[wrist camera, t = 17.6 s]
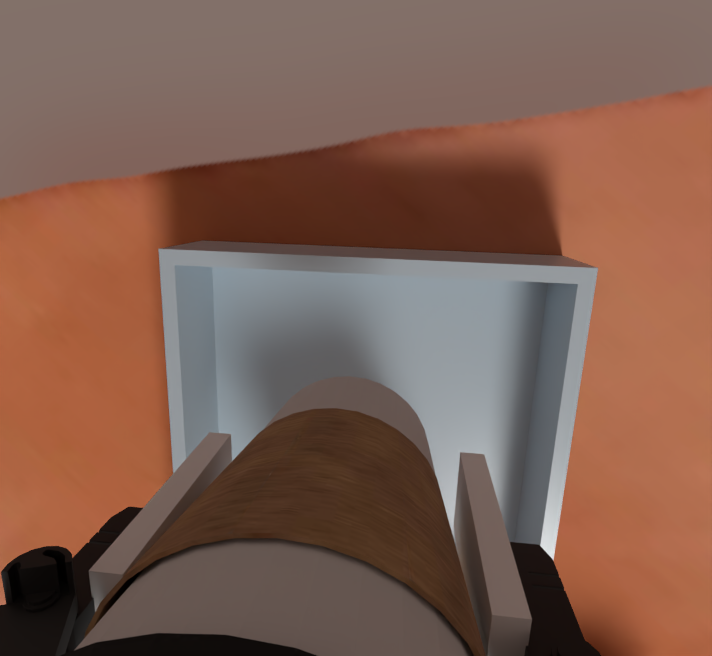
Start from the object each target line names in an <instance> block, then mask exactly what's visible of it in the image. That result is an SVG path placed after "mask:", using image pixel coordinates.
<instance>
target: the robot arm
mask: <svg viewBox="0 0 712 656" xmlns="http://www.w3.org/2000/svg"><path fill="white" fill-rule="evenodd" d="M231 462H232V446H231V434H225V433H212V432H209V433H208V434H207V436H206V437H205V438H204V439H203V440H202V441H201V442H200V444H199V445H198V446H197V447H196V448H195V449H194V450H193V452H192V453H191V454H190V455H189V456H188V457H187V458H186V460H185V461H184V462H183V463H182V464H181V465H180V467H179V468H178V469H177V470H176V471H175V472H174V473H173V475H172V476H171V477H170V478H169V479H168V480H167V481H166V483H165V484H164V485H163V486H162V487H161V488H160V489H159V491H158V492H157V493H156V494H155V495H154V496H153V497H152V499H151V500H150V501H149V502H148V503H147V504H146V506H145V507H144V508H137V507H128V508H126V509H124V510H123V511H121V512H119V513H118V514H116V515H114V516H113V517H111V518H110V519H109V520H108V521H107V522H106V523H105V525H104V526H103V527H102V528H101V529H100V530H99V533H98V532H97V533H96V534H95V535H94V536H93V537H92V538H91V539H90V541H89V543H87V544H86V545H85V546H84V547H83V548H82V549H81V550H80V551H79V552H78V553H77V554H76V555H75V556H74V557H73V558H72V554H71V553H70V552H69V551H68V549H66V548H63V547H59V546H46V547H42V548H38V549H34V550H31V551H29V552H26V553H24V554H22V555H20V556H18V557H17V558H15V559H14V560H12V561H11V562H10V563H8V564H7V566H6V567H5V568H4V569H3V570H2V572H1V575H2V581H3V587H4V592H5V598H6V604H5V605H0V656H60V655H63V654H66V653H68V652H71V651H74V650H75V649H76V648H77V646H78V645H79V644H80V643H81V642H82V641H83V639H84V636H85V632H86V630H87V628H88V626H89V624H90V622H91V620H92V618H93V616H94V614H95V612H96V610H97V608H98V606H99V604H100V602H101V601H102V600H103V599H104V598H105V597H106V595H107V594H108V593H109V592H110V591H111V590H112V589H113V588H114V586H115V585H116V584H117V583H118V582H119V581H120V580H121V578H122V577H123V576H124V575H125V574H126V573H127V572H128V571H129V570H130V569H131V568H132V567H133V566H134V565H135V564H136V562H137V561H138V560H139V559H140V558H141V557H142V556H143V555H144V554H145V553H146V552H147V551H148V550H149V549H150V548H151V547H152V546H153V544H154V543H155V542H156V541H157V540H158V539H159V538H160V537H161V536H162V535H163V534H164V533H165V532H166V531H167V530H168V529H169V527H170V526H171V525H172V524H173V523H174V522H175V521H176V520H177V519H178V518H179V517H180V516H181V515H182V514H183V513H184V512H185V511H186V509H187V508H188V507H189V506H190V505H191V504H192V503H193V502H194V501H195V500H196V499H197V498H198V497H199V496H200V495H201V494H202V493H203V491H204V490H205V489H206V488H207V487H208V486H209V485H210V484H211V483H212V482H213V481H214V480H215V479H216V478H217V477H218V476H219V475H220V473H221V472H222V471H223V470H224V469H225V468H226V467H227V466H228V465H229V464H230V463H231ZM453 526H454V534H455V542H456V549H457V553H458V557H459V560H460V564H461V568H462V571H463V575H464V579H465V582H466V586H467V589H468V593H469V597H470V600H471V604H472V608H473V611H474V615H475V619H476V622H477V626H478V630H479V633H480V637H481V641H482V644H483V648H484V651H485V655H486V656H601V655H600V653H599V652H598V651H597V650H596V649H595V648H594V647H593V646H591V645H590V644H589V643H588V642H586V641H585V640H584V637H583V635H582V632H581V630H580V627H579V625H578V622H577V620H576V617H575V615H574V612H573V609H572V607H571V604H570V602H569V599H568V597H567V594H566V592H565V591H564V587H563V584H562V582H561V579H560V578H559V574H558V572H557V569H556V566H555V564H554V561H553V559H552V558H551V557H550V556H549V555H548V554H547V553H546V551H545V550H544V549H543V548H542V547H541V546H540V545H538V544H528V543H517V542H509V538H508V535H507V531H506V528H505V524H504V521H503V517H502V514H501V510H500V507H499V504H498V500H497V497H496V493H495V490H494V486H493V483H492V479H491V476H490V472H489V469H488V466H487V462H486V459H485V455H484V454H476V453H464V452H460V460H459V471H458V482H457V493H456V504H455V514H454V525H453Z"/></svg>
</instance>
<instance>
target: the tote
mask: <svg viewBox="0 0 712 656" xmlns="http://www.w3.org/2000/svg"><path fill="white" fill-rule="evenodd" d="M159 263H160V278H161V294H162V309H163V324H164V339H165V355H166V370H167V385H168V400H169V415H170V431H171V446H172V461H173V473H174V472H175V471H176V470H177V469H178V468H179V467H180V465H181V464H182V463H183V462H184V461H185V460H186V458H187V457H188V456H189V455H190V454H191V453H192V452H193V450H194V449H195V448H196V447H197V446H198V445H199V444H200V442H201V441H202V440H203V439H204V438H205V437H206V436H207V434H208V433H209V432H212V433H225V434H231V446H232V461H233V460H234V459H235V458H236V457H237V455H238V454H239V453H240V452H241V451H242V450H243V449H244V448H245V447H246V446H247V445H248V444H249V443H250V442H251V441H252V440H253V439H254V437H255V436H256V435H257V434H258V433H260V432H261V431H262V430H263V429H264V428H265V427H266V426H267V424H268V423H269V422H270V421H271V420H272V419H273V417H274V416H275V415H276V414H277V413H278V412H279V410H280V409H281V408H282V407H283V406H284V405H285V404H286V403H287V401H288V400H289V399H290V398H291V397H292V396H293V395H295V394H296V393H297V392H299V391H300V390H301V389H303V388H304V387H306V386H308V385H310V384H312V383H314V382H317V381H319V380H323V379H328V378H332V377H345V376H351V377H358V378H365V379H369V380H371V381H374V382H377V383H380V384H382V385H384V386H386V387H387V388H389V389H391V390H393V391H394V392H396V393H397V394H398V395H399V396H401V397H402V398H403V399H404V400H405V401H407V402H408V404H409V405H410V406H411V407H412V409H413V410H414V411H415V412H416V414H417V415H418V417H419V419H420V421H421V423H422V425H423V427H424V430H425V433H426V437H427V441H428V444H429V448H430V453H431V457H432V461H433V466H434V470H435V475H436V477H437V480H438V484H439V487H440V491H441V495H442V498H443V502H444V506H445V509H446V513H447V517H448V520H449V524H450V527H451V531H452V535H453V538H454V542H455V534H454V526H453V525H454V514H455V504H456V493H457V482H458V471H459V460H460V452H464V453H476V454H484V455H485V459H486V462H487V466H488V469H489V472H490V476H491V479H492V483H493V486H494V490H495V493H496V497H497V500H498V504H499V507H500V510H501V514H502V517H503V521H504V524H505V528H506V531H507V535H508V538H509V542H517V543H528V544H538V545H540V546H541V547H542V548H543V549H544V550H545V551H546V553H547V554H548V555H549V556H550V557H551V558H552V559H554V552H555V546H556V539H557V533H558V526H559V520H560V513H561V507H562V500H563V494H564V487H565V480H566V474H567V467H568V461H569V454H570V448H571V441H572V435H573V428H574V422H575V415H576V409H577V402H578V395H579V389H580V382H581V376H582V369H583V363H584V356H585V350H586V343H587V337H588V330H589V324H590V317H591V311H592V304H593V297H594V291H595V284H596V278H597V271H598V268H596V267H594V266H591V265H588V264H585V263H582V262H579V261H577V260H574V259H571V258H568V257H565V256H560V255H536V254H512V253H488V252H464V251H440V250H416V249H393V248H369V247H345V246H321V245H297V244H273V243H249V242H225V241H197V242H192V243H187V244H181V245H176V246H171V247H165V248H160V249H159ZM455 546H456V542H455Z"/></svg>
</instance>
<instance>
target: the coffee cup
mask: <svg viewBox="0 0 712 656" xmlns="http://www.w3.org/2000/svg"><path fill="white" fill-rule="evenodd" d="M60 656H486V655H485V651H484V648H483V644H482V641H481V637H480V633H479V630H478V626H477V622H476V619H475V615H474V611H473V608H472V604H471V600H470V597H469V593H468V589H467V586H466V582H465V579H464V575H463V571H462V568H461V564H460V560H459V557H458V553H457V549H456V546H455V542H454V538H453V535H452V531H451V527H450V524H449V520H448V517H447V513H446V509H445V506H444V502H443V498H442V495H441V491H440V487H439V484H438V480H437V477H436V475H435V470H434V466H433V461H432V457H431V453H430V448H429V444H428V441H427V437H426V433H425V430H424V427H423V425H422V423H421V421H420V419H419V417H418V415H417V414H416V412H415V411H414V410H413V409H412V407H411V406H410V405H409V404H408V402H407V401H405V400H404V399H403V398H402V397H401V396H399V395H398V394H397V393H396V392H394V391H393V390H391V389H389V388H387V387H386V386H384V385H382V384H380V383H377V382H374V381H371V380H369V379H365V378H358V377H351V376H345V377H332V378H328V379H323V380H319V381H317V382H314V383H312V384H310V385H308V386H306V387H304V388H303V389H301V390H300V391H299V392H297V393H296V394H295V395H293V396H292V397H291V398H290V399H289V400H288V401H287V403H286V404H285V405H284V406H283V407H282V408H281V409H280V410H279V412H278V413H277V414H276V415H275V416H274V417H273V419H272V420H271V421H270V422H269V423H268V424H267V426H266V427H265V428H264V429H263V430H262V431H261V432H260V433H258V434H257V435H256V436H255V437H254V439H253V440H252V441H251V442H250V443H249V444H248V445H247V446H246V447H245V448H244V449H243V450H242V451H241V452H240V453H239V454H238V455H237V457H236V458H235V459H234V460H233V461H232V462H231V463H230V464H229V465H228V466H227V467H226V468H225V469H224V470H223V471H222V472H221V473H220V475H219V476H218V477H217V478H216V479H215V480H214V481H213V482H212V483H211V484H210V485H209V486H208V487H207V488H206V489H205V490H204V491H203V493H202V494H201V495H200V496H199V497H198V498H197V499H196V500H195V501H194V502H193V503H192V504H191V505H190V506H189V507H188V508H187V509H186V511H185V512H184V513H183V514H182V515H181V516H180V517H179V518H178V519H177V520H176V521H175V522H174V523H173V524H172V525H171V526H170V527H169V529H168V530H167V531H166V532H165V533H164V534H163V535H162V536H161V537H160V538H159V539H158V540H157V541H156V542H155V543H154V544H153V546H152V547H151V548H150V549H149V550H148V551H147V552H146V553H145V554H144V555H143V556H142V557H141V558H140V559H139V560H138V561H137V562H136V564H135V565H134V566H133V567H132V568H131V569H130V570H129V571H128V572H127V573H126V574H125V575H124V576H123V577H122V578H121V580H120V581H119V582H118V583H117V584H116V585H115V586H114V588H113V589H112V590H111V591H110V592H109V593H108V594H107V595H106V597H105V598H104V599H103V600H102V601H101V602H100V604H99V606H98V608H97V610H96V612H95V614H94V616H93V618H92V620H91V622H90V624H89V626H88V628H87V630H86V632H85V636H84V639H83V641H82V642H81V643H80V644H79V645H78V646H77V648H76V649H75V650H74V651H71V652H68V653H66V654H63V655H60Z"/></svg>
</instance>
